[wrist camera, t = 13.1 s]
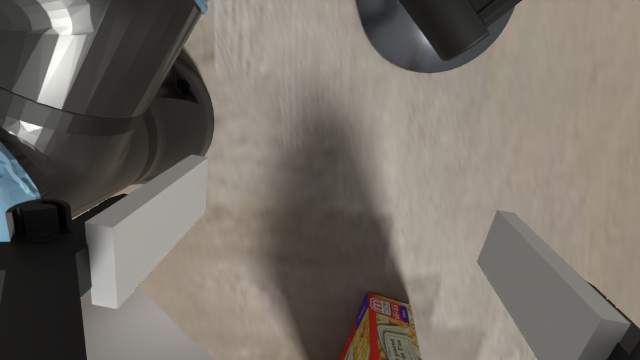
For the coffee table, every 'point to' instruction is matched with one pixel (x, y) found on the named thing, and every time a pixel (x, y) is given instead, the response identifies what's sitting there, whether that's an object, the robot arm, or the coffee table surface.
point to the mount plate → (413, 37)
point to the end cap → (455, 22)
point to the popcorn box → (382, 332)
